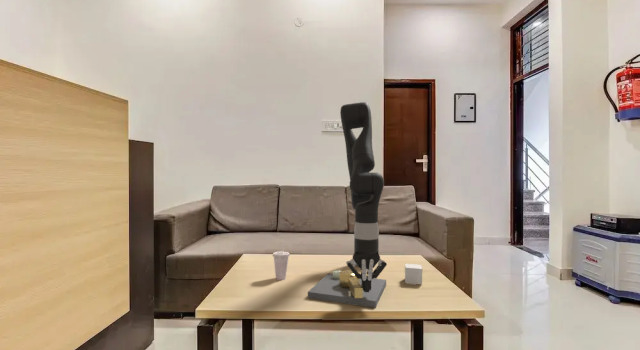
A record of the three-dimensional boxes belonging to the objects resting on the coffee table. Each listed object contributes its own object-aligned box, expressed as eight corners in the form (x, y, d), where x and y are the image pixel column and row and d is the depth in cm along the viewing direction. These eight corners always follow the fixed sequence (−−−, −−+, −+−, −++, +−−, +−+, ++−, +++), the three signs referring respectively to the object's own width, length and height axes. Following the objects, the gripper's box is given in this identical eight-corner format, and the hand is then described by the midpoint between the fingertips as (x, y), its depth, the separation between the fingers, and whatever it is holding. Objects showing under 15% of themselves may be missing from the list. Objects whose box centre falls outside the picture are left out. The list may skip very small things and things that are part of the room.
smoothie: (286, 281, 124) (286, 244, 124) (269, 280, 125) (270, 243, 125) (291, 276, 130) (291, 240, 130) (275, 275, 132) (276, 239, 132)
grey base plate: (328, 278, 129) (328, 266, 129) (386, 285, 122) (386, 272, 122) (307, 297, 108) (308, 283, 108) (375, 307, 101) (375, 292, 101)
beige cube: (422, 285, 123) (422, 268, 122) (405, 283, 124) (405, 267, 124) (420, 280, 128) (421, 264, 128) (404, 278, 130) (404, 263, 130)
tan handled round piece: (337, 281, 118) (337, 270, 118) (357, 281, 119) (357, 270, 119) (347, 301, 100) (347, 287, 100) (370, 300, 101) (370, 287, 101)
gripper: (384, 233, 108) (383, 286, 109) (343, 234, 108) (343, 287, 108) (390, 238, 101) (390, 295, 101) (347, 238, 100) (347, 296, 100)
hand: (366, 291), depth 104 cm, fingers closed
